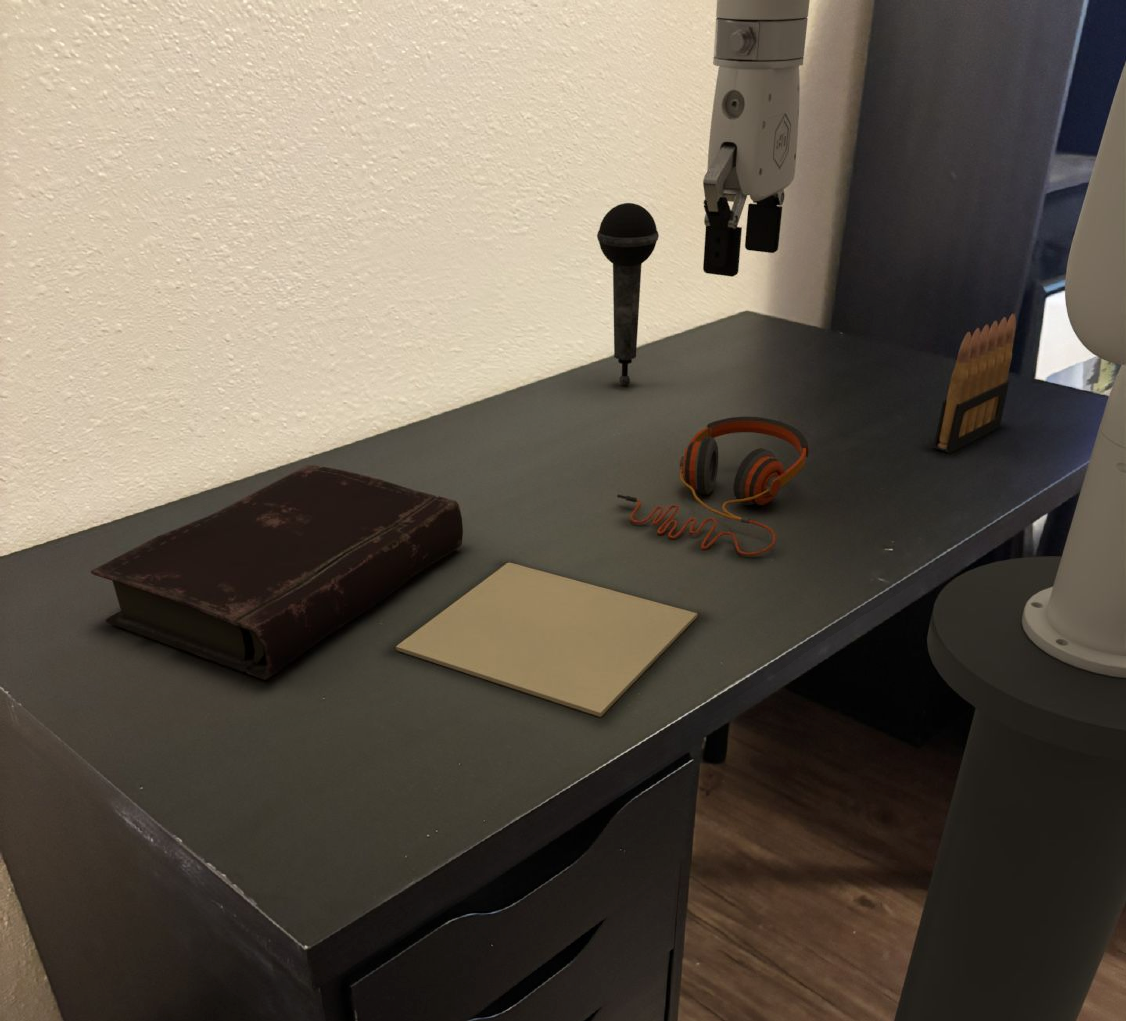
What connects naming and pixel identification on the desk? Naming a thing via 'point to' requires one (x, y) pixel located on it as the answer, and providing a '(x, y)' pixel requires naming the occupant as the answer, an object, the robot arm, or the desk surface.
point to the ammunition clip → (977, 386)
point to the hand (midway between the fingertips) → (741, 262)
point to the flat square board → (550, 637)
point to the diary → (280, 566)
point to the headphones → (752, 478)
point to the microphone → (627, 272)
